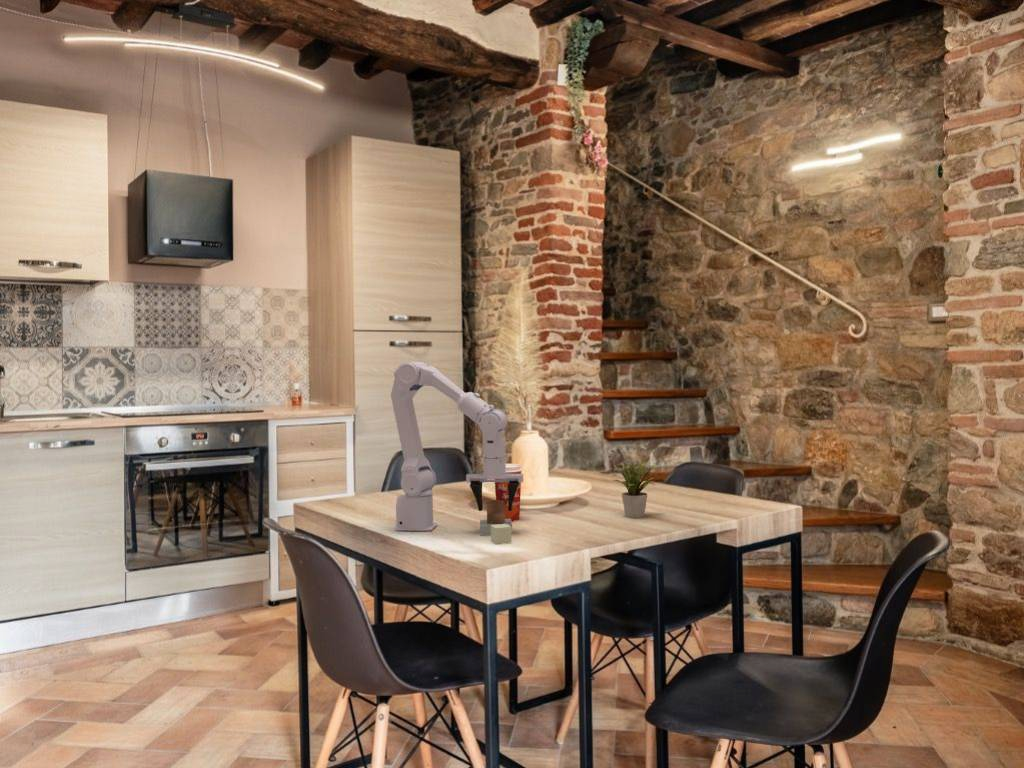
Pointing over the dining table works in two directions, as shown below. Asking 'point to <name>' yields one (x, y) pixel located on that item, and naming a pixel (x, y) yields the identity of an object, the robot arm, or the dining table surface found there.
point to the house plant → (634, 489)
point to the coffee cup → (502, 493)
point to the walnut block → (495, 512)
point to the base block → (486, 528)
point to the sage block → (500, 533)
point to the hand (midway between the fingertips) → (495, 510)
